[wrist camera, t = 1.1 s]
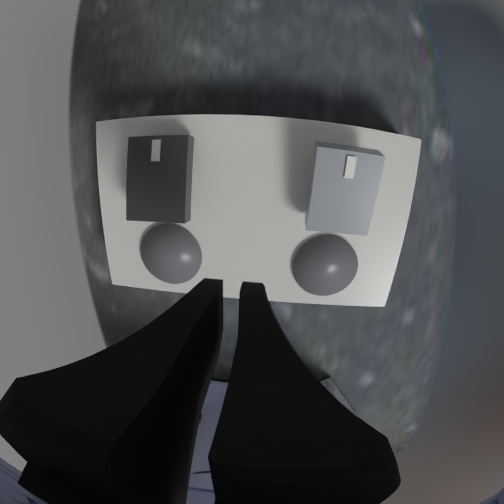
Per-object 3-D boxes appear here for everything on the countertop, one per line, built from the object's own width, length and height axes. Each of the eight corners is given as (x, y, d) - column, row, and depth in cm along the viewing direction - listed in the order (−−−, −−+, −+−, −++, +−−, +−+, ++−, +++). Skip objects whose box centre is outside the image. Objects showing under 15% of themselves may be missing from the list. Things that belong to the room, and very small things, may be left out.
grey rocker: (362, 225, 14) (367, 236, 14) (304, 219, 15) (306, 231, 14) (378, 149, 12) (385, 157, 11) (314, 140, 12) (317, 147, 11)
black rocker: (190, 220, 14) (184, 224, 13) (134, 217, 14) (125, 220, 13) (194, 137, 13) (188, 134, 12) (137, 138, 13) (127, 136, 12)
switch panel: (371, 281, 20) (385, 308, 17) (130, 263, 20) (111, 285, 17) (399, 135, 15) (422, 139, 12) (121, 119, 16) (94, 121, 13)
